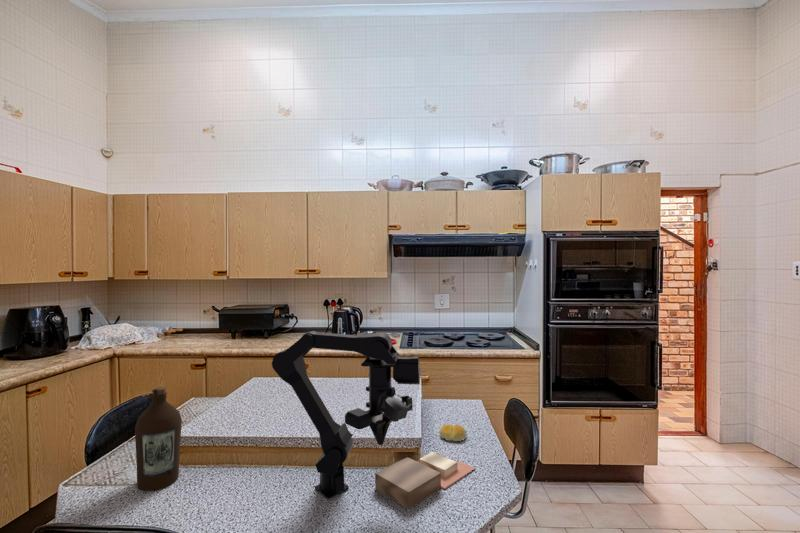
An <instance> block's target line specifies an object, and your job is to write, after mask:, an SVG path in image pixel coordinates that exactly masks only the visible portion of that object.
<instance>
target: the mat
mask: <svg viewBox="0 0 800 533" xmlns="http://www.w3.org/2000/svg"><path fill="white" fill-rule="evenodd" d="M458 461H459V462H458V469H457V470H456V471H454V472H453V473H451V474H450V475H448V476H447V477H442V476H441V490H442V489H443V490H447V489H448V488H450V487H451V486H453V485H454V484H455V482H456V483H457V482H458V480H459V481H461V480H462V479H463V478H465V477H466V476H468V475H469V474H470V473H469V472H471V471H472V470H473V469H475V470H476V468H475V467H474V466H471V465H469V464H467V463H465V462H462V461H460V460H458ZM472 467H473V468H472ZM472 472H473V471H472ZM472 472H471V473H472ZM468 473H469V474H468ZM467 474H468V475H467ZM465 475H466V476H465ZM464 476H465V477H464ZM461 478H462V479H461Z"/></svg>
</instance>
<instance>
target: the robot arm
mask: <svg viewBox="0 0 800 533" xmlns="http://www.w3.org/2000/svg"><path fill="white" fill-rule="evenodd" d="M312 349H319V350H320V349H322V350H331V351H333V350H335V351H345V352H354V353H357V354H360V355H362V356H364V357H366V358H365V359H364V360H363V361H362V363H361V364H360V366H361V367H368V382H369V383H368V386H365V391H366V392H368V402H365V408H368V410H364V409H361V408H359V407H358V408H354V409H352V410H349V411H346V413H345V414H344V423H342V424H341V425H340V424H339V423H337V422H336V421H335V420H334V418H333V417H332V415H331V413H330V412H329V410H328V408H327V407H326V405H325V403H324V401H323V400H322V398H321V396H320V395H319V393H318V391H317V390H316V388H315V386H314V384H313V383H312V381H311V380H310V378H309V375H308V372H307V367H306V366H307V365H306V362H305V359H304V357H305V356H306V355H308V353H309V352H310V351H311V350H312ZM419 357H420V356H411V357H410V356H407V357H406V356H405V357H404V356H401V355H400V354H399V352H398V351H397V349H396V348H395V347H394V346H393V340H392V338H391V337H390V335H389V334H388V333H385V332H375V333H374V332H372V333H366V334H361V335H360V334H359V335H356V334H346V333H345V334H343V333H342V334H341V333H332V332H331V333H330V332H319V331H316V330H311V331H308V332H306V333H304V334H303V335H302V336H301V337H300V338H299V339H297V341H296V342H294V343H293V344H291V345H290V346H289V347H287V348H285V349H284V350H283V349H282V350H281V351H278V352H277V353H275V355H274V356H273V358H272V362H271V367H272V369H273V371H274V372H275V373H276V374H277V376H278V377H279V378H280V380H282V381H283V382H285V383H286V384H288V385H289V386H291V388H292V390H293V391H294V393H295V395H296V397H297V398H298V399H299V402H300V403H301V405H302V407H303V409H304V411H305V412H306V414H307V415H308V417H309V418H310V421H311V423H312V424H313V425H314V427H315V429H316V430H317V433H318V436H319V440H320V447H321V449H322V450H321V451H322V454H321V456H320V458H318V460H317V461H316V463H315V468H316V470H317V473H318V474H319V484H317V485H314V489H315V491H317V492H319V493H320V494H321V495H323V497H325V498H326V499H331V498H333V497H335V496H337V495H339V494H341V493H343V492H345V491H347V490H348V489H349V487H350V486H349V485H348V484H346V483H345V473H344V472H345V466H344V464H343V463H344V462H345V461H346V460H347V459H348V456H349V454H350V452H351V450H352V448H353V446H354V445H353V444H354V441H353V440H354V439H353V436H354V435H353V434H352V433H351V431H349V428H348V426H350V427H352V428H355V429H356V430H363V429H365V428H368V427H369V428H370V430H371V432H372V434H373V436H374V438H375V441H376V443H377V445H378V446H382V445H384V442H385V438H386V436H387V433H388V430H389V427H390V426H391V423H392V422H398V421H400V420H402V419H406V418H407V415H408V413H409V412H410V411H413V409H414V408H413V406H414V405H413V397H412V396H411V395H410V394H406V395H399V394H397V393H396V387H394V386H392V379H393V380H394V381H395V383H397V385H415V386H417V385H421V367H420V358H419Z"/></svg>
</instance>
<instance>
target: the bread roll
mask: <svg viewBox="0 0 800 533" xmlns="http://www.w3.org/2000/svg"><path fill="white" fill-rule="evenodd" d="M440 435H441V436H440ZM439 436H440V438H441V439H443V438H445V439H447V440H454V441H460V440H463V439H465V440H466V438H467V429H466V428H464V427H463V426H462V425H460V424H459V425H458V424H456V425H452V424H451V423H450V424H445V425H443V426H441V428H439ZM465 437H466V438H465ZM454 441H453V442H454ZM460 442H461V441H460Z"/></svg>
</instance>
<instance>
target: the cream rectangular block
mask: <svg viewBox="0 0 800 533" xmlns="http://www.w3.org/2000/svg"><path fill="white" fill-rule="evenodd" d="M419 461H420V463H421V464H423V465H425V466H427V467H429V468H431V469H433V470H435V471H438V472H440V473H441V476H442V477H447V476H448V475H450V474H451V473H453V472H454V471H456V470H457V469H458V462H456V461H454V460H451V459H449V458H447V457H444V456H442V455H439V454H437V453H436V452H434V451H431V452H430V453H427V454H426V455H424V456H422V457H421V458H419Z"/></svg>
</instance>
